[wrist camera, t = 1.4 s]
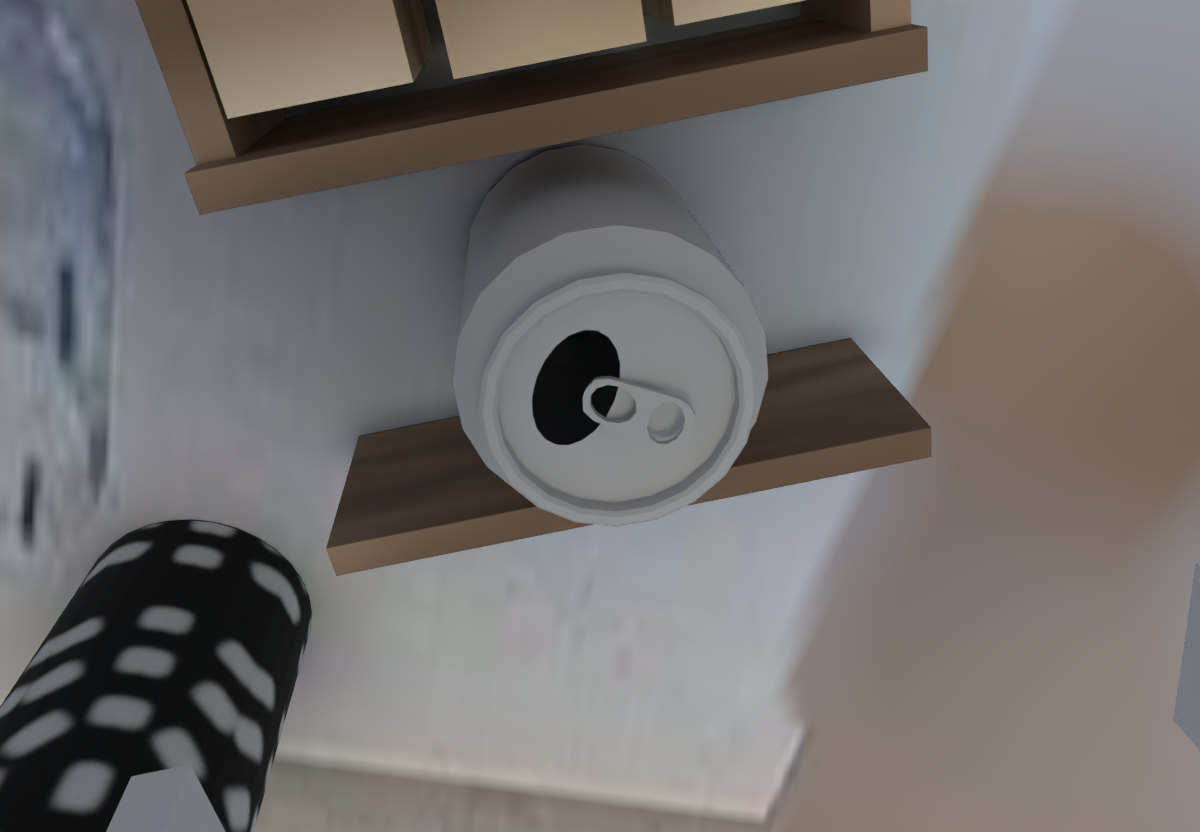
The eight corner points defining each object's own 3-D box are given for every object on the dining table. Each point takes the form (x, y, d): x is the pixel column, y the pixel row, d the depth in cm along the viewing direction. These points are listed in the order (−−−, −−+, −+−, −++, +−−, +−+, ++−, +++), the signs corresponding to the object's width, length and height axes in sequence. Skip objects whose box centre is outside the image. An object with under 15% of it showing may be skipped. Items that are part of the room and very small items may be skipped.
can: (504, 106, 29) (505, 199, 18) (724, 181, 30) (845, 306, 20) (441, 324, 32) (410, 514, 21) (645, 381, 33) (712, 583, 23)
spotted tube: (95, 499, 33) (-370, 1125, 16) (329, 543, 35) (152, 1152, 17) (78, 673, 37) (-318, 1352, 19) (293, 706, 39) (115, 1355, 21)
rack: (150, -183, 25) (32, -228, 18) (816, -313, 25) (922, -401, 18) (367, 460, 34) (336, 575, 27) (851, 363, 34) (931, 456, 28)
